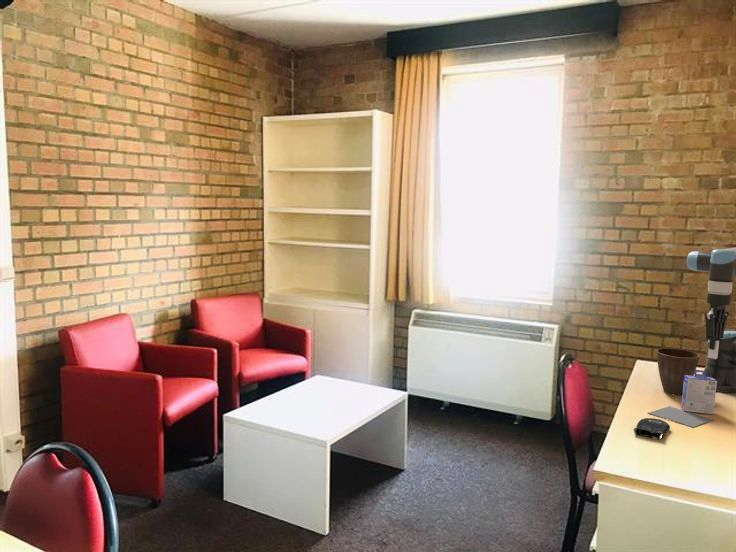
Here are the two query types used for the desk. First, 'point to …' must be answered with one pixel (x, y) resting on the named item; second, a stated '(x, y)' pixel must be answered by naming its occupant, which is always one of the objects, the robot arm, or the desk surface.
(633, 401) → the desk surface
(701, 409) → the ink cartridge box
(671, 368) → the plant pot
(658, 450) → the desk surface
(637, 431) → the electronic device
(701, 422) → the mat
